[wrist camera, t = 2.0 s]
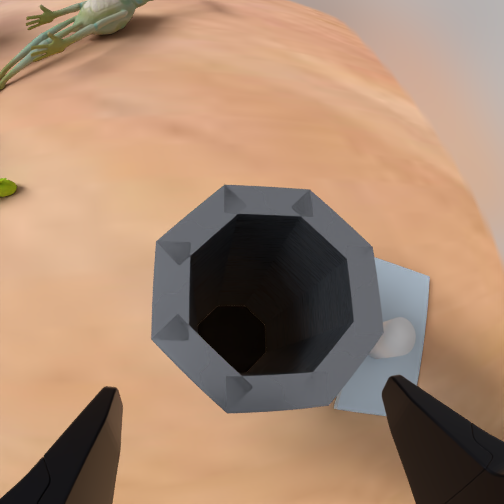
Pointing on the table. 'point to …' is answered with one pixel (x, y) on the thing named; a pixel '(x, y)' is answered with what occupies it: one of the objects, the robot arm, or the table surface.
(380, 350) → the pedestal
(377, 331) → the sleeve
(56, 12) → the toy
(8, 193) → the toy
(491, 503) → the robot arm
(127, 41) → the table surface
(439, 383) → the table surface
